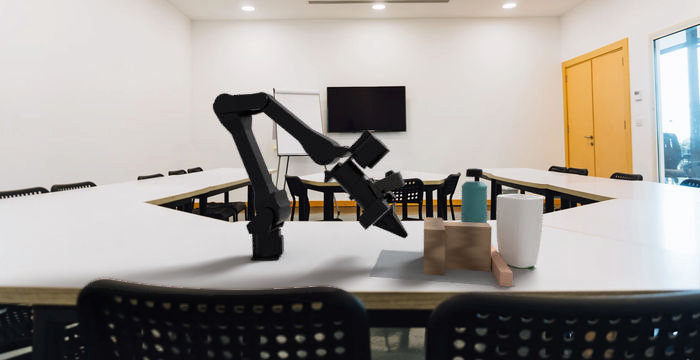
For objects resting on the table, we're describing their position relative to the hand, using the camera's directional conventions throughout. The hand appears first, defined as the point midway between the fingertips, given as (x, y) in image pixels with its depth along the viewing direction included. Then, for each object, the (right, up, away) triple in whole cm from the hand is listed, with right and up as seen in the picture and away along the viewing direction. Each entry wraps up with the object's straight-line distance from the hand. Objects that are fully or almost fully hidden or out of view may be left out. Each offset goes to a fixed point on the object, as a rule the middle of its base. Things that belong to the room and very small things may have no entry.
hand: (406, 236), depth 72 cm
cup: (+24, -6, 0) cm, 25 cm away
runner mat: (+6, -6, -1) cm, 9 cm away
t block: (+10, -6, -2) cm, 12 cm away
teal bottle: (+20, -5, +16) cm, 26 cm away
